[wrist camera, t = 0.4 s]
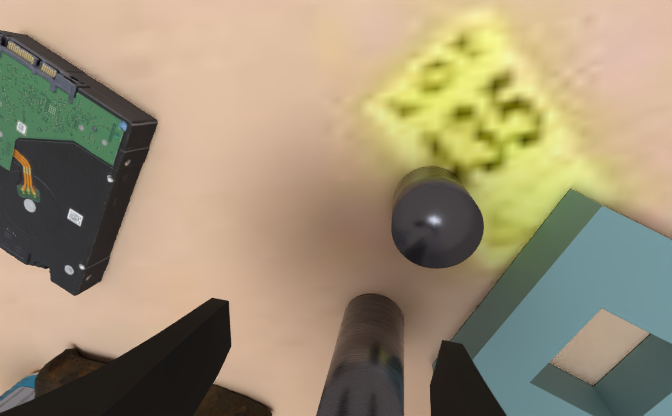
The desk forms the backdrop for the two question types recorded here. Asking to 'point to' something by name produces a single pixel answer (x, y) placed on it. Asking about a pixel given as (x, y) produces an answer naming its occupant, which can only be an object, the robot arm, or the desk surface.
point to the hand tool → (214, 411)
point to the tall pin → (367, 361)
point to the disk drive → (64, 163)
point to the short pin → (435, 219)
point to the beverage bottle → (19, 393)
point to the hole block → (577, 315)
